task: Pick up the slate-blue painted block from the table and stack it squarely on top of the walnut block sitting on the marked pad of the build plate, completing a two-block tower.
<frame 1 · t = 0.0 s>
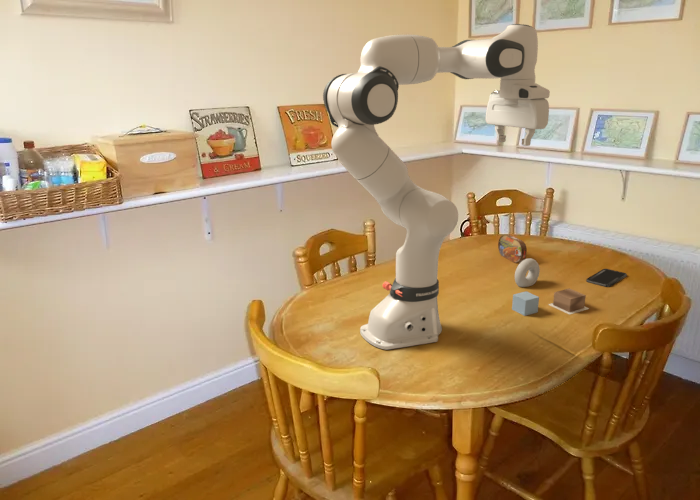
hand: (513, 143, 150), 48 cm above the table, tool pointing down, fingers open, 8 cm apart
walnut block: (568, 306, 161), point 1 cm above the table, touching build plate
tin: (511, 259, 206), on the table
blue block: (524, 315, 159), on the table
phone: (606, 280, 185), on the table
donut: (525, 288, 178), on the table
build plate: (568, 310, 161), on the table
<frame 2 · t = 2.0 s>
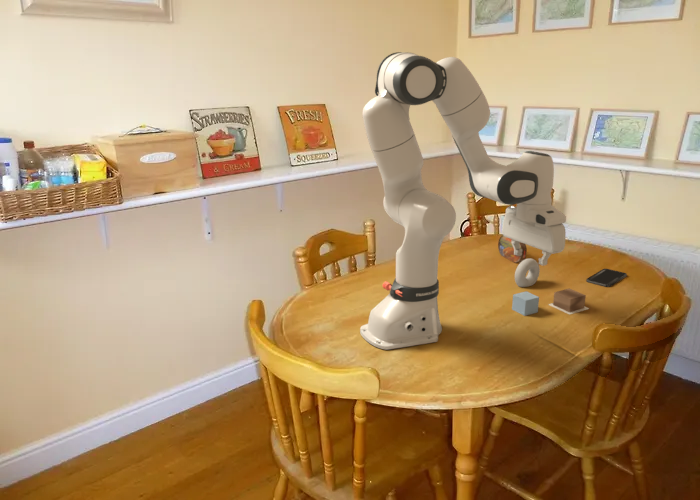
hand: (530, 259, 154), 17 cm above the table, tool pointing down, fingers open, 8 cm apart
nothing on the table moved.
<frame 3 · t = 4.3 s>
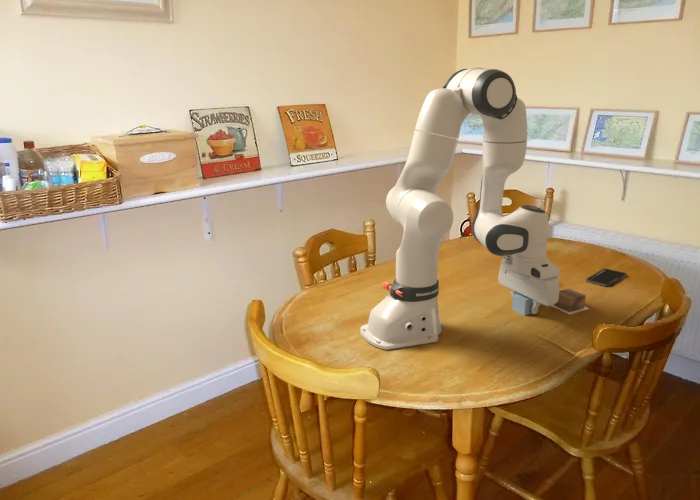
hand: (524, 308, 159), 2 cm above the table, tool pointing down, fingers closed on blue block, 5 cm apart
blue block: (524, 314, 159), on the table, touching gripper
everything else where it was.
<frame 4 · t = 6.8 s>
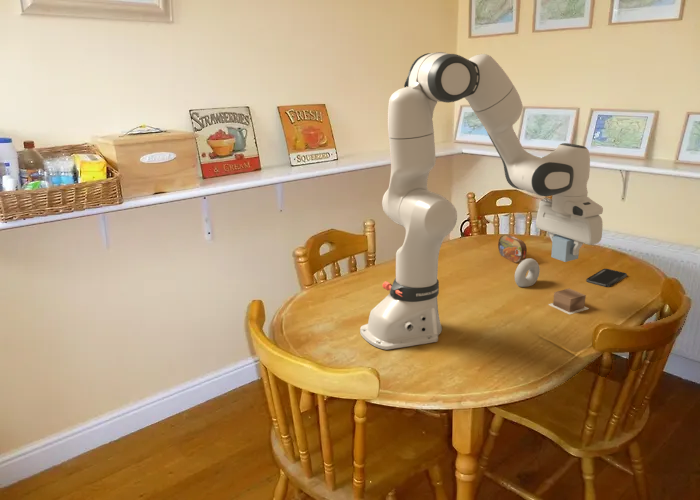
hand: (565, 251, 155), 18 cm above the table, tool pointing down, fingers closed on blue block, 5 cm apart
blue block: (564, 257, 156), point 16 cm above the table, touching gripper
everything else where it was.
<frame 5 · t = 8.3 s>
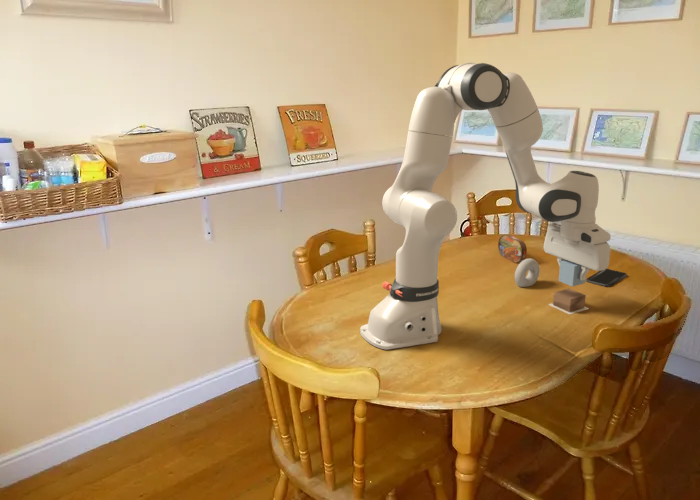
hand: (572, 275, 158), 11 cm above the table, tool pointing down, fingers closed on blue block, 5 cm apart
blue block: (571, 282, 159), point 9 cm above the table, touching gripper
everything else where it was.
when the fingers open (8 cm above the table, at t = 9.6 s): blue block drops 1 cm, resting on walnut block.
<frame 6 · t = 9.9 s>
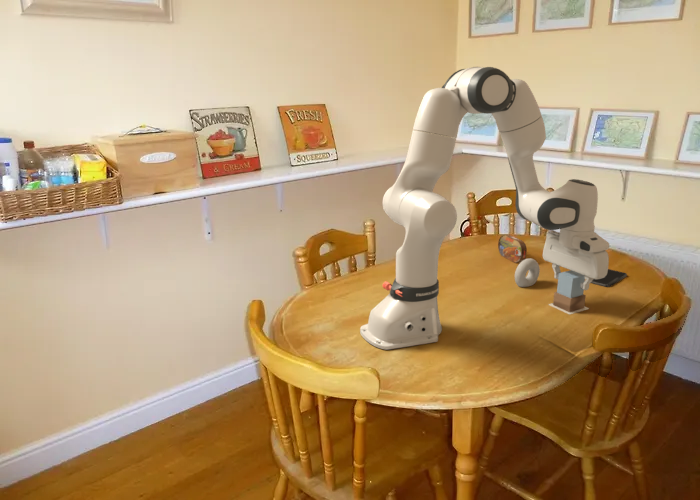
hand: (570, 283, 159), 8 cm above the table, tool pointing down, fingers open, 8 cm apart
walnut block: (568, 306, 161), point 1 cm above the table, touching blue block, build plate
blue block: (569, 293, 160), point 5 cm above the table, touching walnut block
everything else where it was.
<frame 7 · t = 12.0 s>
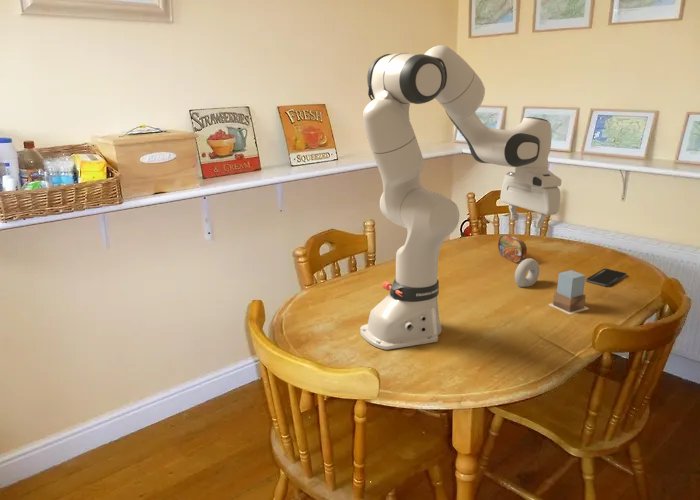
hand: (525, 223, 160), 25 cm above the table, tool pointing down, fingers open, 8 cm apart
nothing on the table moved.
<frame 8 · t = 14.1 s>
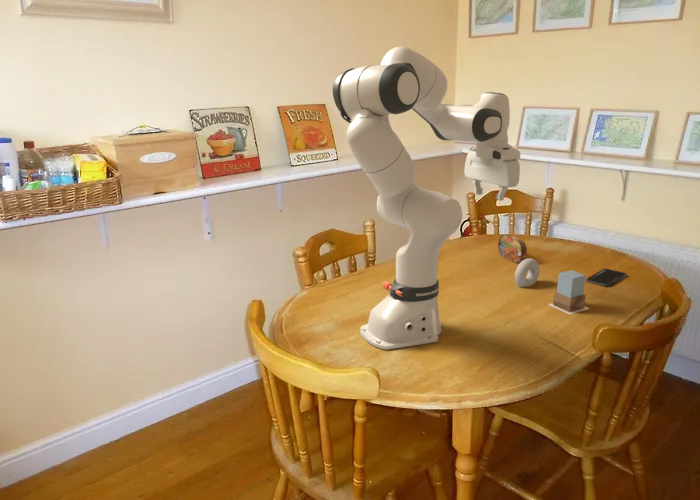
hand: (488, 197, 165), 31 cm above the table, tool pointing down, fingers open, 8 cm apart
nothing on the table moved.
at the end: blue block 0.0 cm off-centre on the walnut block, point 4.0 cm above the walnut block's base; blue block tilted 0°; walnut block moved 0.0 cm from its start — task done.
